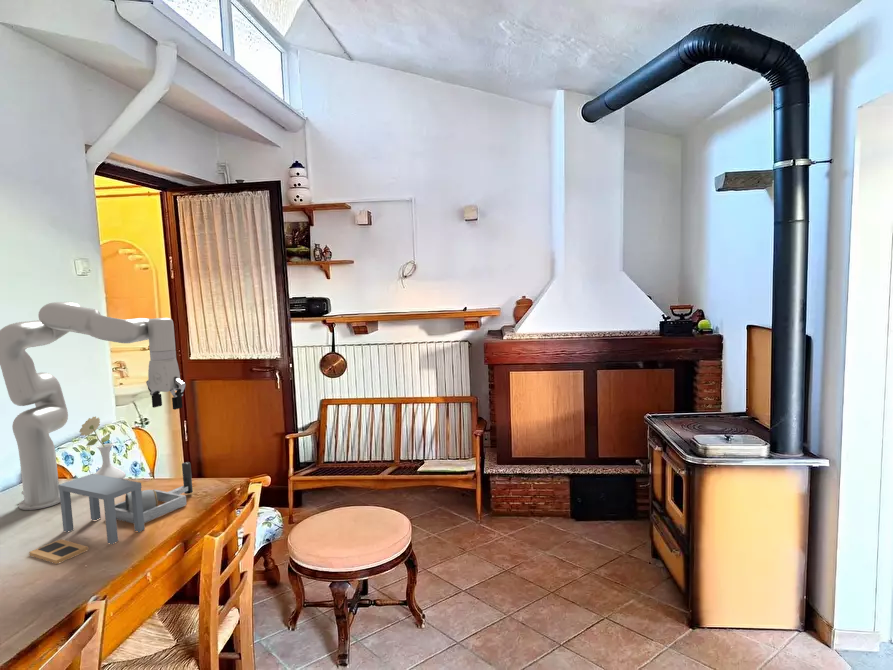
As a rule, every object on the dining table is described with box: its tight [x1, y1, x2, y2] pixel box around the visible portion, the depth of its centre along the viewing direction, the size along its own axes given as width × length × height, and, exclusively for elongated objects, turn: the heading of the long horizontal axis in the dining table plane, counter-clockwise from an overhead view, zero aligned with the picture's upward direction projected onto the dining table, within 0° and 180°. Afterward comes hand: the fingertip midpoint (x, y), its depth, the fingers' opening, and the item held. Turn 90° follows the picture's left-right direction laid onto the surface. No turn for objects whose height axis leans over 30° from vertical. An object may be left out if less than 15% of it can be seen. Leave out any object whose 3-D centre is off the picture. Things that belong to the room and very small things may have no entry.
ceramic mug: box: [124, 489, 159, 512], centre depth 174 cm, size 11×8×8 cm
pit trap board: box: [28, 538, 89, 565], centre depth 149 cm, size 12×8×1 cm, turn 64°
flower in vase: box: [78, 416, 127, 480], centre depth 201 cm, size 13×11×25 cm
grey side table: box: [58, 473, 146, 545], centre depth 161 cm, size 22×10×14 cm, turn 64°
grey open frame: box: [115, 461, 194, 524], centre depth 178 cm, size 15×24×10 cm, turn 154°
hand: (167, 407), depth 184 cm, fingers open, 9 cm apart
